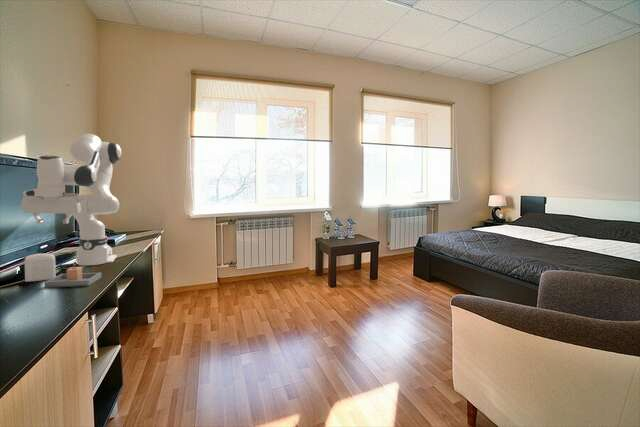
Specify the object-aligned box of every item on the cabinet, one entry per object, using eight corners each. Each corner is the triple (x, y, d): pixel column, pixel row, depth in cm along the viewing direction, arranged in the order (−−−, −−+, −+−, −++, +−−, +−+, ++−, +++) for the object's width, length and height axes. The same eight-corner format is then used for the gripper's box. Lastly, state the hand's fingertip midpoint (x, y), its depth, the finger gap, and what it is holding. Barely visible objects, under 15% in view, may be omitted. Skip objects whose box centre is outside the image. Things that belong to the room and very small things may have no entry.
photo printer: (56, 277, 136) (55, 251, 135) (54, 279, 132) (53, 253, 131) (26, 280, 130) (25, 253, 129) (23, 282, 126) (22, 255, 125)
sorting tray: (61, 279, 133) (61, 273, 133) (101, 277, 138) (101, 272, 137) (44, 287, 122) (44, 282, 122) (88, 285, 126) (88, 280, 126)
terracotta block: (72, 279, 131) (71, 267, 130) (82, 279, 132) (81, 266, 132) (67, 282, 127) (66, 269, 127) (77, 282, 128) (77, 269, 128)
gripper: (83, 193, 131) (84, 222, 133) (28, 191, 126) (30, 222, 127) (76, 193, 125) (77, 224, 127) (18, 191, 120) (19, 224, 121)
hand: (53, 223), depth 127 cm, fingers open, 8 cm apart
